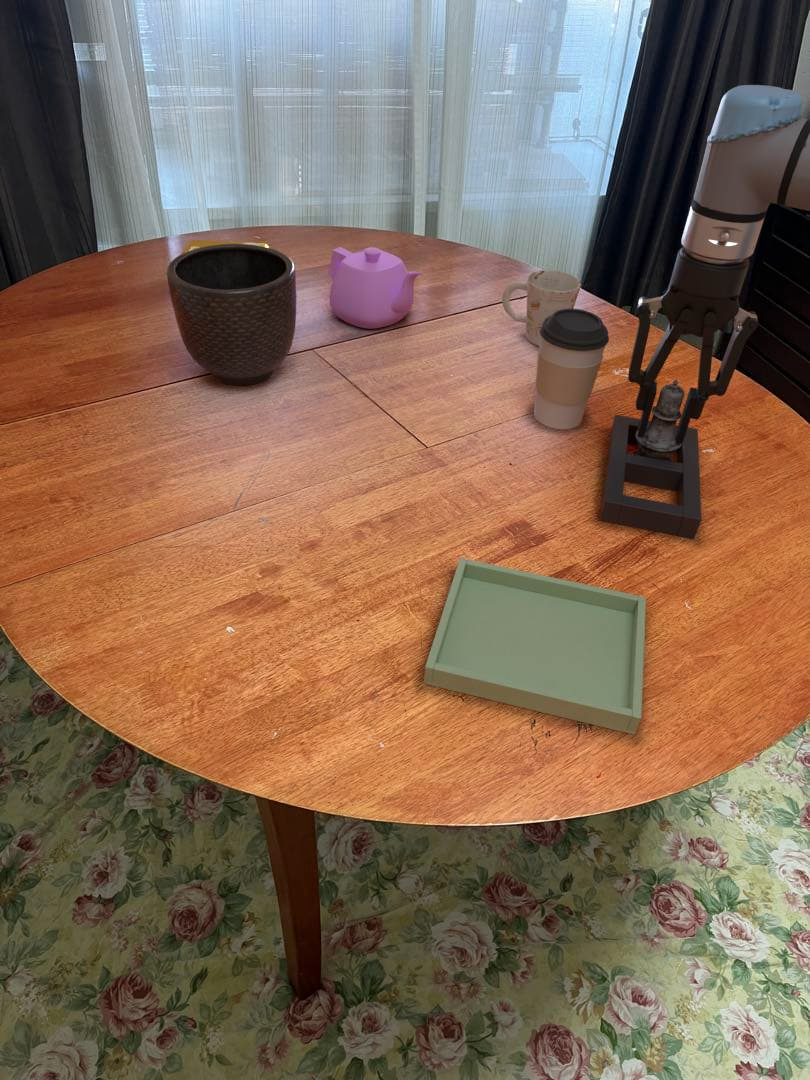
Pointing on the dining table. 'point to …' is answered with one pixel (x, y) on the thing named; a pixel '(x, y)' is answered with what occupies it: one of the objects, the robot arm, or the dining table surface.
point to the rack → (651, 484)
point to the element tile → (204, 243)
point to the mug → (543, 298)
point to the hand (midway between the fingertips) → (660, 434)
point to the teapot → (370, 287)
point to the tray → (542, 645)
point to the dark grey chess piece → (662, 425)
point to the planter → (235, 309)
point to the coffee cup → (567, 366)
